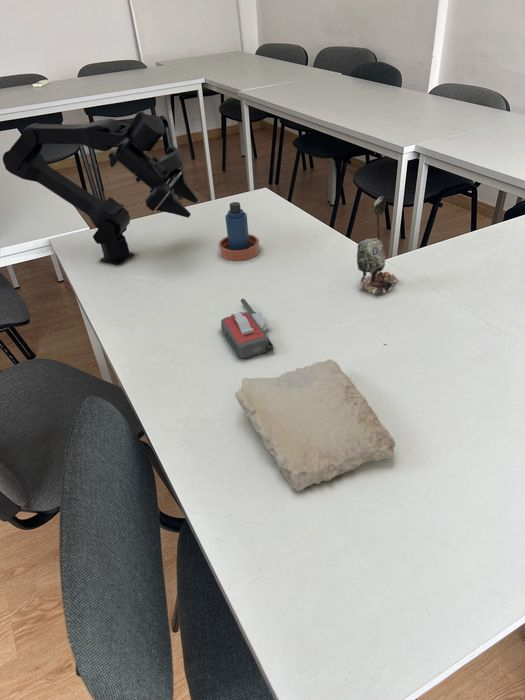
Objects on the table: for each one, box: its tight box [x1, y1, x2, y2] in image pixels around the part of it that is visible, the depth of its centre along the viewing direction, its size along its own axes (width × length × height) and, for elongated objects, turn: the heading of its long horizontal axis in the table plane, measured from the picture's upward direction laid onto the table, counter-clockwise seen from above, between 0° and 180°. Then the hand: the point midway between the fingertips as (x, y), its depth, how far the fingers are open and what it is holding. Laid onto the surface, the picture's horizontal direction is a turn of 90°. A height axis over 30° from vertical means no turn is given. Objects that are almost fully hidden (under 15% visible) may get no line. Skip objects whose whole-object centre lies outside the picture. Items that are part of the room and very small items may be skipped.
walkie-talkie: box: [220, 298, 274, 359], centre depth 108 cm, size 9×4×20 cm
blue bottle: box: [225, 201, 250, 250], centre depth 134 cm, size 5×5×13 cm
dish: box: [218, 233, 261, 262], centre depth 137 cm, size 10×10×3 cm
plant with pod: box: [356, 195, 399, 295], centre depth 114 cm, size 8×11×20 cm
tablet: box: [234, 359, 396, 491], centre depth 84 cm, size 24×8×20 cm
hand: (193, 208), depth 129 cm, fingers open, 9 cm apart
